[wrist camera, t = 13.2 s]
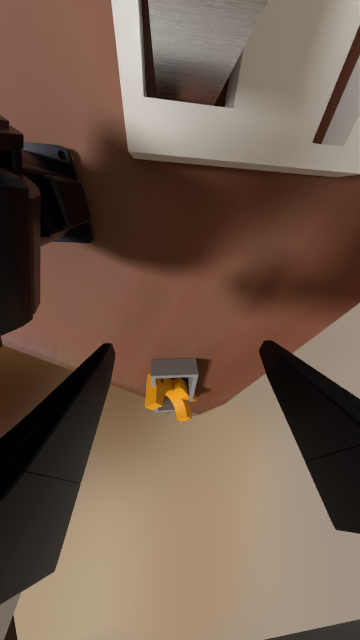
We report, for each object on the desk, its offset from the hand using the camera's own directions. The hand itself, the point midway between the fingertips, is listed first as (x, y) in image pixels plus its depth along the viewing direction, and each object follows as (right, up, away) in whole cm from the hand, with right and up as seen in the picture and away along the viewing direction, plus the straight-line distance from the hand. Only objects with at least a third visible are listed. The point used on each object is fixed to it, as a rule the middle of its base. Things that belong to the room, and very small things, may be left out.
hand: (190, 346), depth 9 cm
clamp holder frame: (-2, -12, +26) cm, 29 cm away
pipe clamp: (-2, -12, +26) cm, 29 cm away
